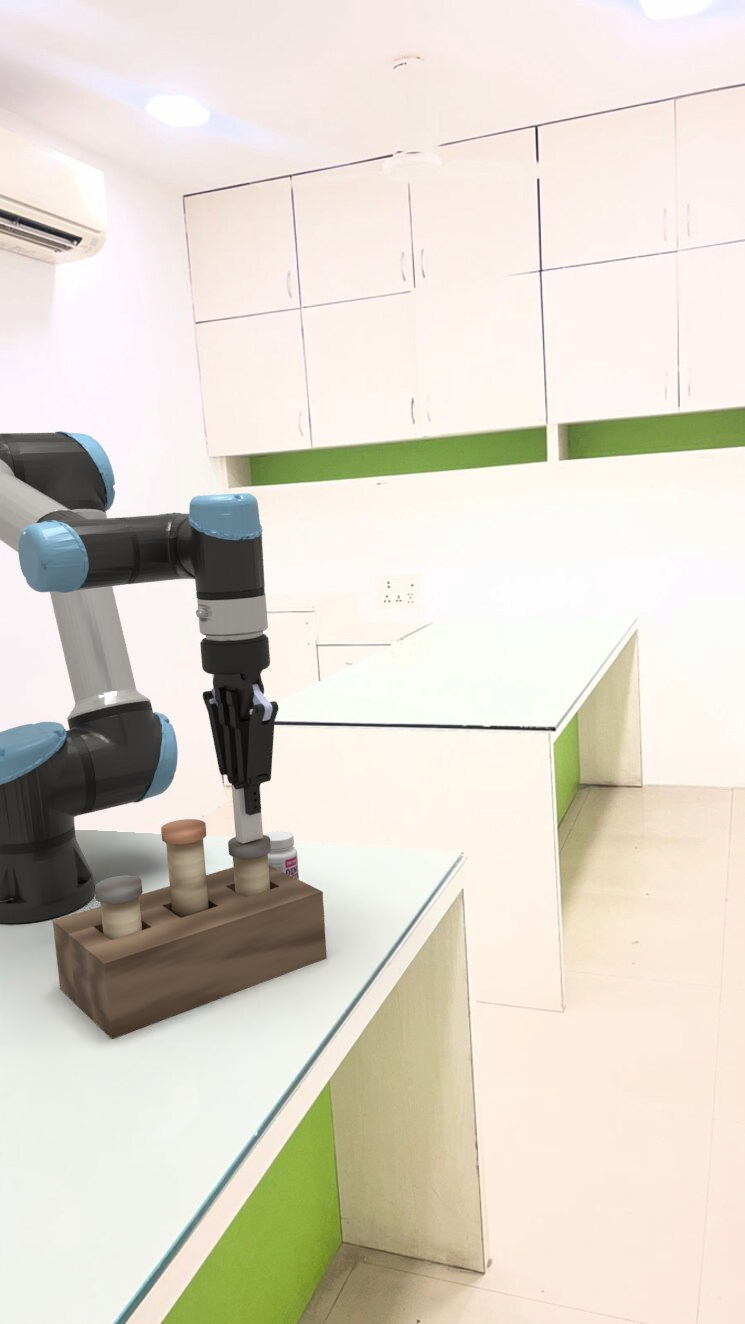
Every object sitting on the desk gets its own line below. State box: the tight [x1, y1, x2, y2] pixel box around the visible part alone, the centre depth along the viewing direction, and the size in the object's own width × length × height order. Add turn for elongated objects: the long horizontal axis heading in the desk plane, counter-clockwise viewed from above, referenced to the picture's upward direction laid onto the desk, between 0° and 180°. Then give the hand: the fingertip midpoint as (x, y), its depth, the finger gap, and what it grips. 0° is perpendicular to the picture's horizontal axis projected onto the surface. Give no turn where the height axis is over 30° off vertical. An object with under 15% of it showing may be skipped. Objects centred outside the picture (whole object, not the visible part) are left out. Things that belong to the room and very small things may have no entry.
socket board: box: [52, 865, 328, 1040], centre depth 116 cm, size 14×26×8 cm, turn 127°
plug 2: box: [227, 834, 271, 897], centre depth 120 cm, size 5×5×12 cm
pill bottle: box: [264, 830, 300, 880], centre depth 136 cm, size 5×5×8 cm
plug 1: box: [94, 874, 144, 940], centre depth 111 cm, size 5×5×12 cm
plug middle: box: [160, 818, 209, 918], centre depth 114 cm, size 5×5×12 cm
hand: (249, 838), depth 119 cm, fingers closed
